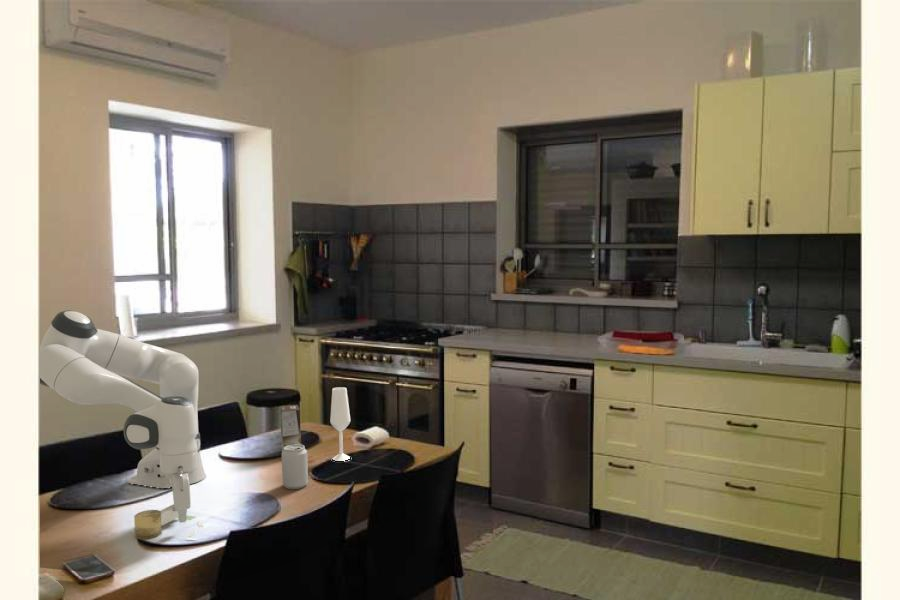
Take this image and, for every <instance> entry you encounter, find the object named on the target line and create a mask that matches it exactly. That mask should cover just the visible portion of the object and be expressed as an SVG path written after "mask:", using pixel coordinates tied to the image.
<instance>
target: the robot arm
mask: <svg viewBox="0 0 900 600" xmlns="http://www.w3.org/2000/svg"><path fill="white" fill-rule="evenodd" d="M50 323H51V325H50V326H49V327H48V329H47V331H46V332H45V334H44V336H43V338H42V340H41V343H40V347H39V349H40V383H39V384H40V385H42V386H45V387H48V388H50V389H52V390H53V391H54V392H56V394H58V395H60V396H61V397H63V398H64V399H65V400H68V401H70V402H72V403H74V404H77V405H83V406H85V405H86V406H87V405H89V406H90V405H101V404H102V405H103V404H116V405H122V406H126V407H128V408H130V409H132V410H134V411H135V413H133V414H131V415H129V416H128V417H127V418H126V420H125V421H124V424H123V436H124V440H125V442H126V443H127V444H128V445H129V446H130V447H132V448H133V449H136V450H138V451H139V450H147V449H152V450H151V451H149V453H147V454H146V455H145V456H144V457H142V459H141V460H139V462H138V464H137V468H136V474H135V475H133V476H131V477H130V478H129V480H128V484H129V483H132V484H131V485H133V484H140V485H146V486H152V487H158V488H157V489H159V488H168V489H170V488H169V487H172V488H171V489H172V498H173V500H172V501H173V504H174V508H175V510H176V511H178V516H179V518H178V523H185V522H187V516H186V515H188V514H187V512H188V510H189V509H190V508H191V507H192V505H191V504H192V503H191V500H192V499H191V485H192V484H194V483H198V482H200V481H203V480H204V479H206V476H207V474H206V472H205V469H204V466H203V462H202V456H201V433H200V432H199V419H198V418H199V417H198V415H199V414H198V402H199V388H200V387H199V379H200V378H199V377H200V376H199V375H200V374H199V373H200V372H199V369H198V366H197V365H196V364H195V362H194V361H193V360H191V359H190V358H189V357H188V356H186V355H185V354H183V353H180V352H177V351H174V350H170V349H167V348H163V347H160V346H157V345H153V344H150V343H146V342H142V341H140V340H138V339H137V340H136V339H134V338H130V337H127V336H124V335H122V334H119V333H115V332H111V331H108V330H104V329H100V328H96V327H95V323H94V322H93V320H92V319H91V318H90V317H89V316H88V315H86V314H84V313H81V312H80V311H79V312H78V311H75V310H64V311H59V312H58V313H57V314H56V315H55V316H54V318H53V319H52V320H51V322H50ZM126 377H127V378H126ZM128 378H129V379H128ZM131 379H133V380H139V381H144V382H147V383H148V382H149V383H153V384H156V385H159V395H158V394H157V393H155V392H153V391H151V390H149V389H148V388H146V387H144V386H142V385H141V384H139V383H137V382H135V381H133V380H131ZM153 448H154V449H153ZM146 486H145V487H146ZM152 487H151V488H152Z"/></svg>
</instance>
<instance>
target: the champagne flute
mask: <svg viewBox="0 0 900 600" xmlns="http://www.w3.org/2000/svg"><path fill="white" fill-rule="evenodd" d="M329 419H330V421H329V422H330V424H331V426H332V427H333V428H334V429H335V430H336V431H338V444H339V453H338V454H337V455H335V456H334V457H332V458H331V460H332V459H333V460H335V461H344V462H346V461H345V460H348V459H350V457H351V456H349V455H347V454H345V453H344V442H343V441H344V440H343V431H344V430H346V428H347V427H348V426H349V425H350V423H351V414H350V406H349V396H348V390H347V387H344V386H343V387H342V386H340V387H339V386H338V387H333V388H332V390H331V403H330V418H329ZM335 461H334V462H335ZM348 461H349V460H348Z"/></svg>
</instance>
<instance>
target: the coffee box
mask: <svg viewBox="0 0 900 600" xmlns="http://www.w3.org/2000/svg"><path fill="white" fill-rule="evenodd" d="M279 411H280V412H279V413H280V416H279V417H280V435H281V439H280V440H281V453H282V452H283V451H284V447H285V446H288V445H295V444H299V445H302V436H301V433H302V432H301V430H302V429H301V409H300V407H299V405H298V404H290V405H281V406H279Z"/></svg>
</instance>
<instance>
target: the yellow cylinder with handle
mask: <svg viewBox="0 0 900 600" xmlns="http://www.w3.org/2000/svg"><path fill="white" fill-rule="evenodd" d="M178 517H179V516H178V511H176V510H175V508H174V503H173V504H171V505H169V506H167V507H164V508H163V509H161V510H159V509H148V510H143V511H140V512H137V513H135V515H134V517H133V520H134V536H135V538H136V539H138V540H151V539H153V538H157V537H159V536H160V535H162V533H163V525H166V524H169V522H171V521H174V520H175V519H179V518H178Z"/></svg>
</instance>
